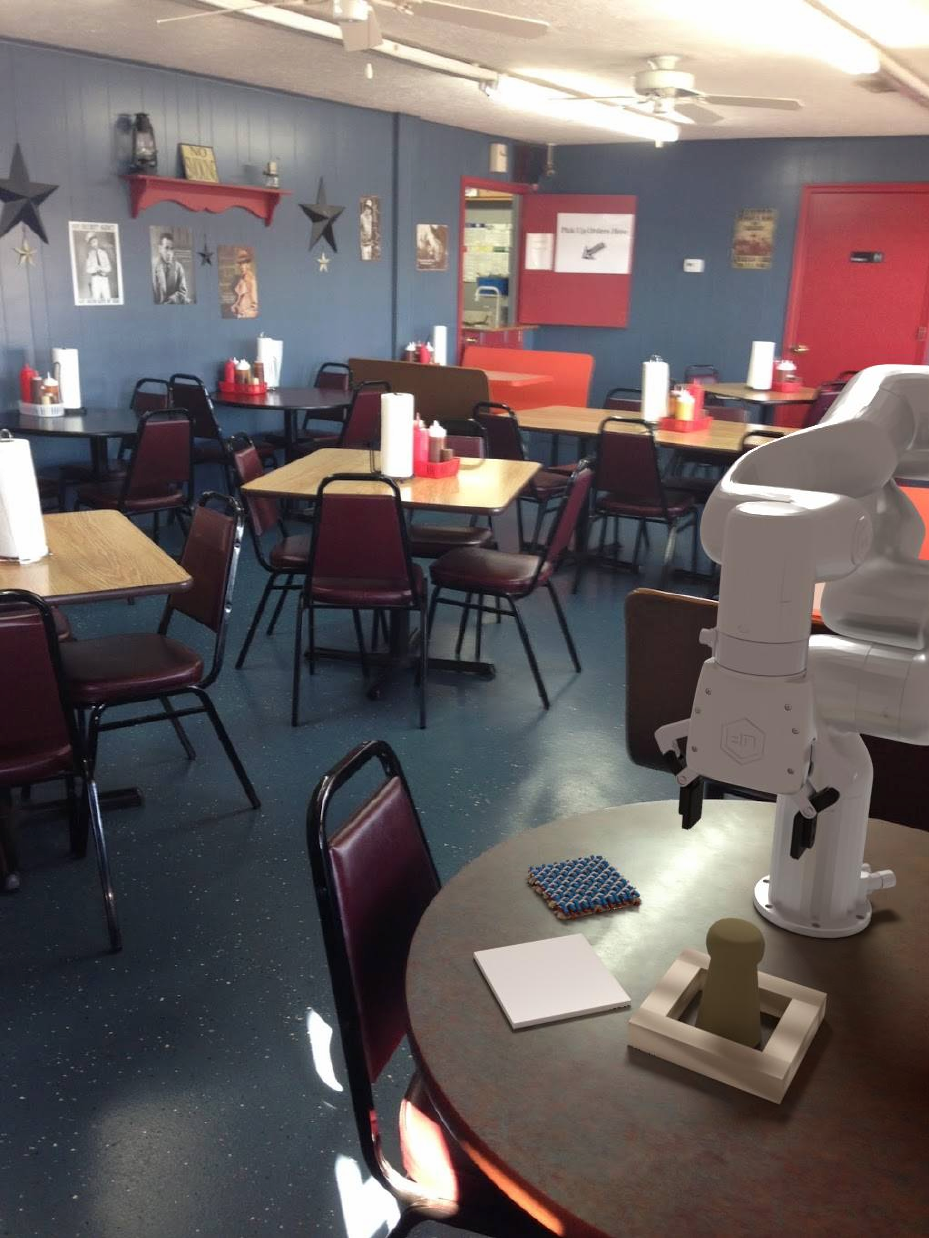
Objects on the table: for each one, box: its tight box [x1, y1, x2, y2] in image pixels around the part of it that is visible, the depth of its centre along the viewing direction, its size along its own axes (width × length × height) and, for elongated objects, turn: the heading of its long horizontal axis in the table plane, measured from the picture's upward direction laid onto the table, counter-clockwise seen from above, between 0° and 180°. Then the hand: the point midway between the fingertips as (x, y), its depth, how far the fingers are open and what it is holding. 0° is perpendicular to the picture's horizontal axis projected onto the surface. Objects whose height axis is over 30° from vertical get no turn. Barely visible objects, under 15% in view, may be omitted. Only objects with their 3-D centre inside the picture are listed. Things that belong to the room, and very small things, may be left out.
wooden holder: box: [626, 947, 828, 1105], centre depth 100 cm, size 14×14×2 cm
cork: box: [694, 917, 766, 1049], centre depth 99 cm, size 6×6×11 cm
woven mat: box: [524, 854, 643, 920], centre depth 124 cm, size 10×11×2 cm
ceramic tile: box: [473, 932, 632, 1030], centre depth 108 cm, size 12×12×1 cm
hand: (743, 837), depth 95 cm, fingers open, 9 cm apart
